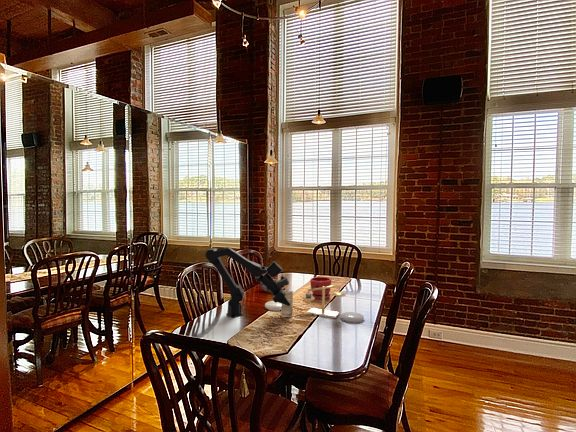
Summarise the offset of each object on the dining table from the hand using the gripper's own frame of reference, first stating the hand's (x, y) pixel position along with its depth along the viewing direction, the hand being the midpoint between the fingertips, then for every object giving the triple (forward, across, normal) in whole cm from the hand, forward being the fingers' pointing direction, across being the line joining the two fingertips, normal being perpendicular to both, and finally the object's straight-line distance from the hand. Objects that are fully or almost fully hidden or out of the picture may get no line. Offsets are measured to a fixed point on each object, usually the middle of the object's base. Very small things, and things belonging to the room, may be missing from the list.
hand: (289, 303), depth 188 cm
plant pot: (+19, +34, -9) cm, 40 cm away
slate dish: (+28, -4, -19) cm, 34 cm away
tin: (-4, +46, +13) cm, 48 cm away
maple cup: (+4, 0, +6) cm, 7 cm away
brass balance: (+18, +3, -8) cm, 20 cm away
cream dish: (0, +14, +10) cm, 17 cm away
